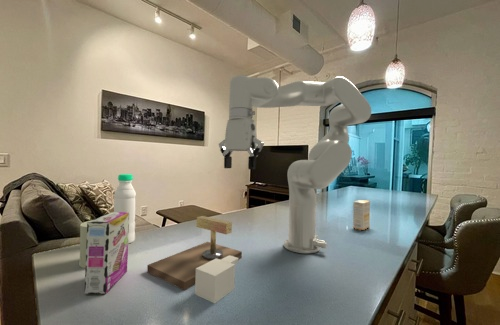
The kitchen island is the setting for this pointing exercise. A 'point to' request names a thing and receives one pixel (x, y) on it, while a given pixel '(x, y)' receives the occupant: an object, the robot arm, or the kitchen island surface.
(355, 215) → the supplement box
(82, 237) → the can
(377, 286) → the kitchen island surface
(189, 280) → the panel
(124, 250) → the candy bar box
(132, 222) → the water bottle
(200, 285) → the cream stepped block
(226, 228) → the t key
